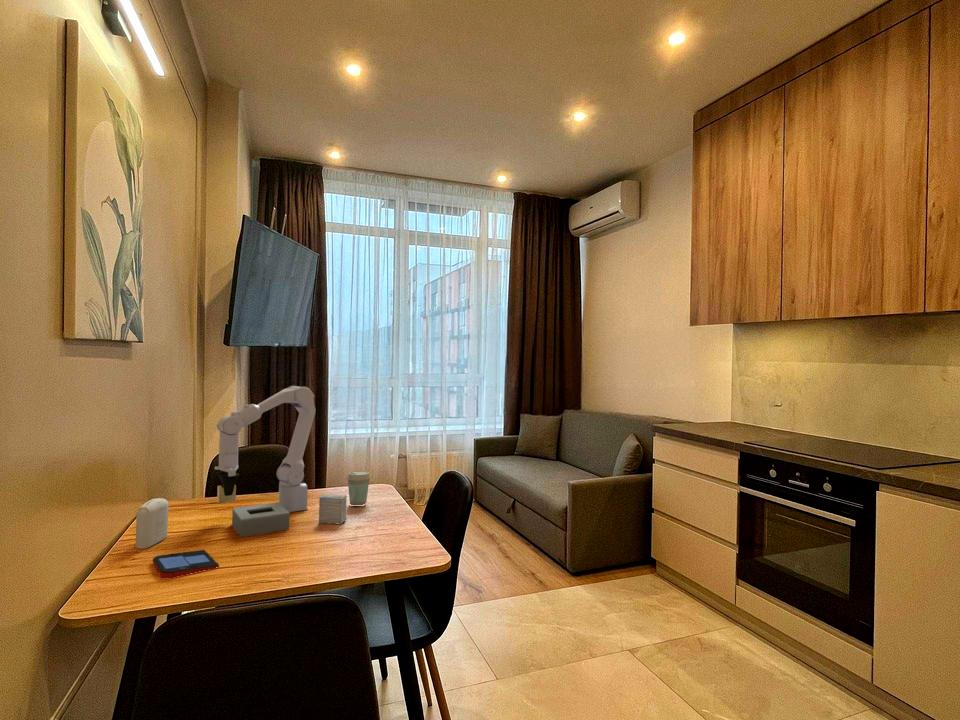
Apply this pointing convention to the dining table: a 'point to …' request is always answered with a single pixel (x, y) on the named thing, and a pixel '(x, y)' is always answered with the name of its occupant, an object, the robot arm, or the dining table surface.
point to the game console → (183, 563)
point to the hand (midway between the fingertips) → (227, 494)
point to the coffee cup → (358, 487)
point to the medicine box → (332, 508)
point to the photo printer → (151, 523)
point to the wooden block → (222, 498)
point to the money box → (260, 519)
